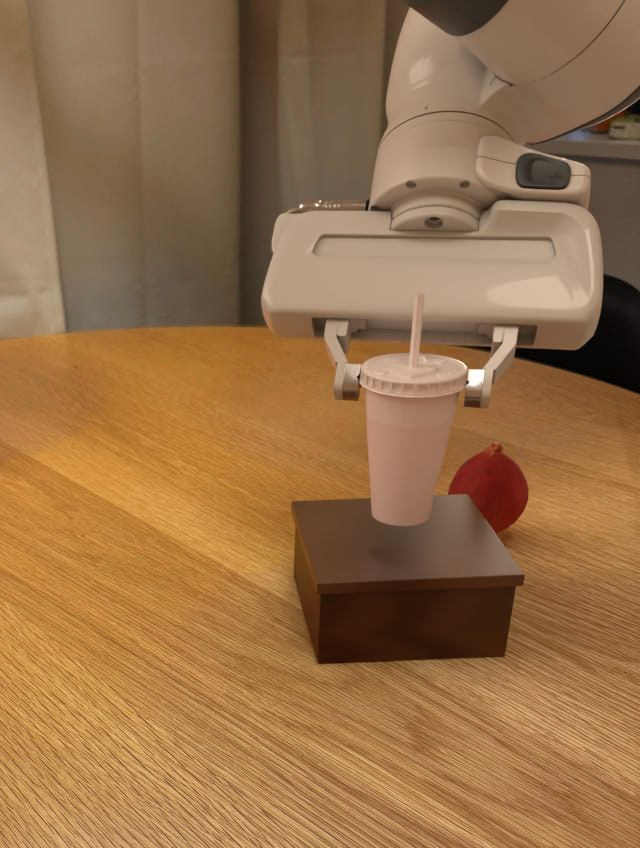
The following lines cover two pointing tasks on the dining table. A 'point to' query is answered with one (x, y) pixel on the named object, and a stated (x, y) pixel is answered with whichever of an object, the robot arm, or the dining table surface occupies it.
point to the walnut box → (402, 582)
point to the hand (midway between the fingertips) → (410, 400)
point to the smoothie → (408, 426)
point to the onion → (493, 486)
